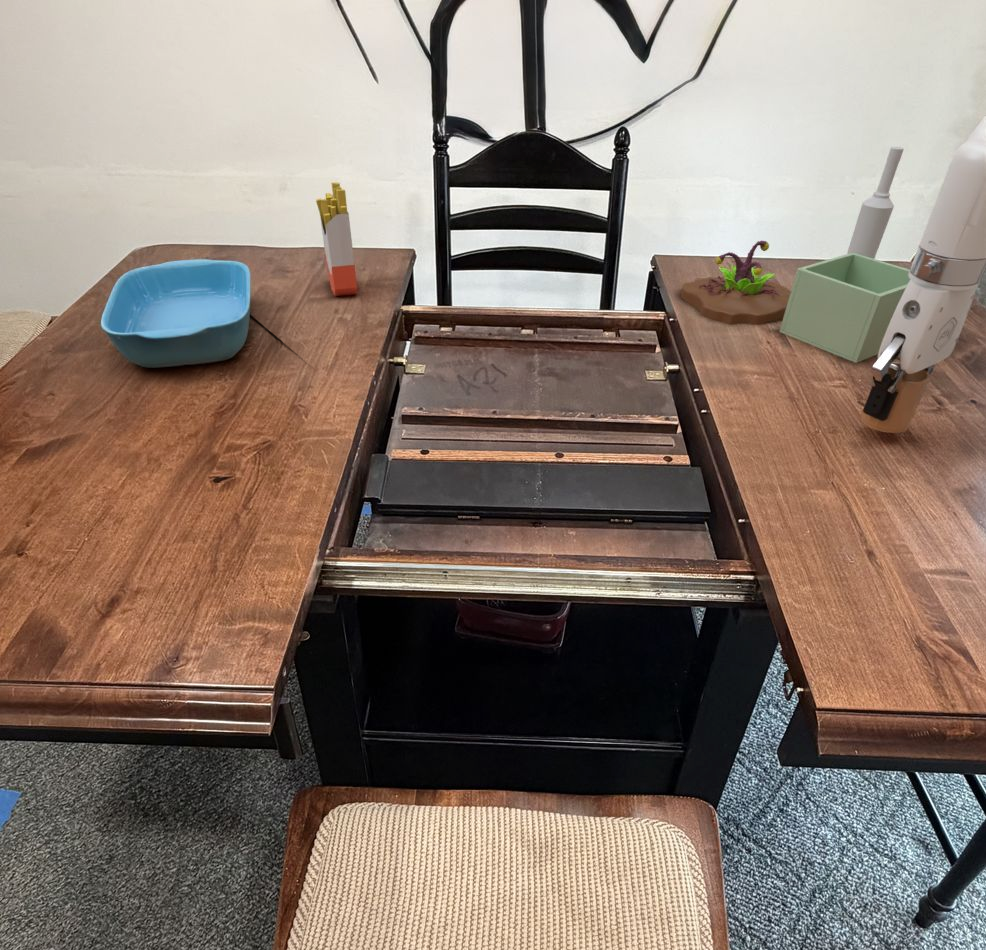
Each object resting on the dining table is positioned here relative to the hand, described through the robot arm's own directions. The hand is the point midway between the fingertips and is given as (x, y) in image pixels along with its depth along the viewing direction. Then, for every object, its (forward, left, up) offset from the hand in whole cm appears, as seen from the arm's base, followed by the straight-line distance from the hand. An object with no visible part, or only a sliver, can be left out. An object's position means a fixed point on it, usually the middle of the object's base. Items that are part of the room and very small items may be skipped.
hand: (889, 407), depth 94 cm
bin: (+23, -26, -5) cm, 35 cm away
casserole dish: (+87, +66, -5) cm, 109 cm away
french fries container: (+91, +35, -5) cm, 98 cm away
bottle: (+34, -43, -5) cm, 55 cm away
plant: (+44, -23, -5) cm, 49 cm away
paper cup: (0, 0, -2) cm, 2 cm away
